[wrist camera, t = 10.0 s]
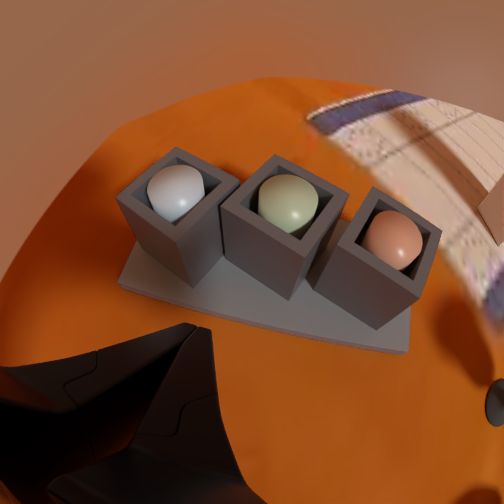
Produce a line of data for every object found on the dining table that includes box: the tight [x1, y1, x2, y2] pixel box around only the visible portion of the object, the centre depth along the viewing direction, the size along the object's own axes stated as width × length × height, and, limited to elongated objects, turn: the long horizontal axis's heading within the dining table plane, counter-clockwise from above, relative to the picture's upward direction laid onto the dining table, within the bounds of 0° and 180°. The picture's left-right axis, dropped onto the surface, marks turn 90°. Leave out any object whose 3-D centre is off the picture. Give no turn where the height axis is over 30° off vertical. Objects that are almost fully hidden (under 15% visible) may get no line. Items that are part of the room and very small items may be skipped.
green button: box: [258, 175, 318, 240], centre depth 20 cm, size 4×4×4 cm
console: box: [115, 147, 442, 355], centre depth 22 cm, size 11×24×8 cm, turn 76°
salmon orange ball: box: [359, 211, 422, 273], centre depth 19 cm, size 4×4×4 cm
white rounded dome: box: [147, 165, 205, 226], centre depth 20 cm, size 4×4×4 cm
